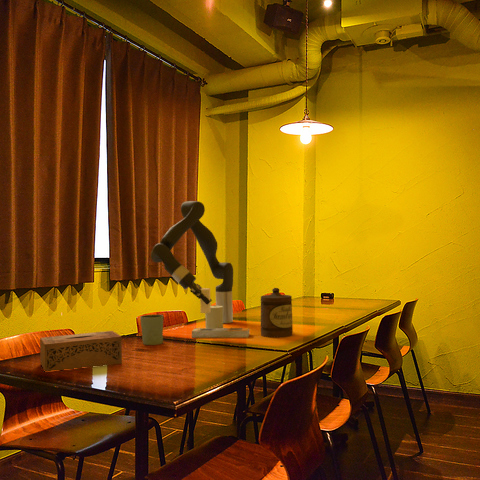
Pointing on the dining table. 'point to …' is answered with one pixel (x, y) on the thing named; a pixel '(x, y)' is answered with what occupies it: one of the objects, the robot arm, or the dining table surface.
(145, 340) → the grey green cup
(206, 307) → the block
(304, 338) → the dining table surface
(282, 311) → the wooden container
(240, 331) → the rail
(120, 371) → the dining table surface
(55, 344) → the tissue box cover
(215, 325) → the can
